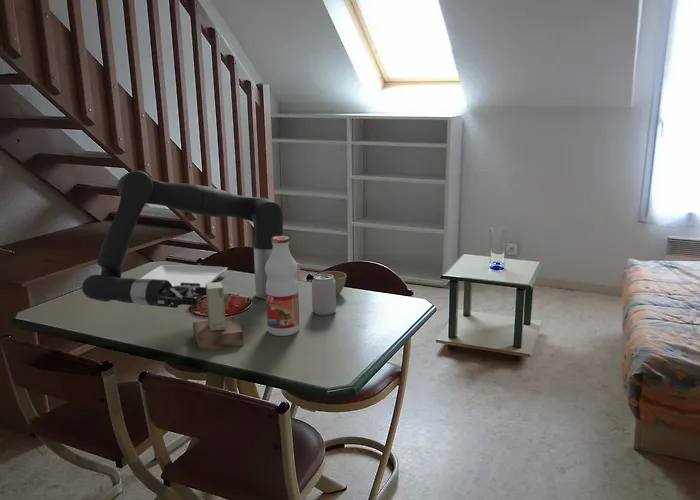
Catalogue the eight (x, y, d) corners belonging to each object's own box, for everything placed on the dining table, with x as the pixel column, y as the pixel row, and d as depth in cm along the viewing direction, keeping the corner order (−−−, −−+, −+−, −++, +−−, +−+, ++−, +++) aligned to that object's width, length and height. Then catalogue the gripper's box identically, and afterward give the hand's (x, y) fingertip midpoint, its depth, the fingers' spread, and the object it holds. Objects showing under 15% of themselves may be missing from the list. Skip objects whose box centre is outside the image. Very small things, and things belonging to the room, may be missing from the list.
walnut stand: (235, 329, 180) (234, 316, 179) (243, 344, 169) (243, 331, 168) (193, 335, 176) (192, 322, 175) (199, 351, 165) (198, 337, 164)
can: (340, 310, 195) (339, 274, 192) (329, 317, 189) (328, 280, 186) (319, 306, 199) (318, 271, 196) (308, 314, 192) (307, 277, 189)
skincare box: (226, 329, 169) (223, 287, 166) (210, 331, 168) (207, 289, 165) (223, 321, 175) (221, 281, 172) (208, 323, 174) (205, 282, 171)
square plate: (161, 273, 237) (160, 263, 236) (229, 275, 234) (228, 266, 233) (127, 296, 211) (126, 285, 210) (203, 299, 208) (202, 288, 207)
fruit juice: (306, 330, 179) (303, 237, 172) (280, 339, 173) (276, 243, 166) (286, 322, 186) (283, 232, 178) (261, 330, 179) (256, 237, 172)
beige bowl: (336, 301, 203) (336, 281, 202) (311, 296, 209) (311, 276, 207) (352, 293, 212) (352, 273, 210) (328, 288, 217) (327, 269, 215)
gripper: (136, 287, 166) (190, 291, 162) (163, 272, 179) (214, 276, 176) (138, 313, 168) (192, 318, 164) (165, 296, 181) (216, 300, 178)
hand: (203, 296), depth 170 cm, fingers open, 8 cm apart
